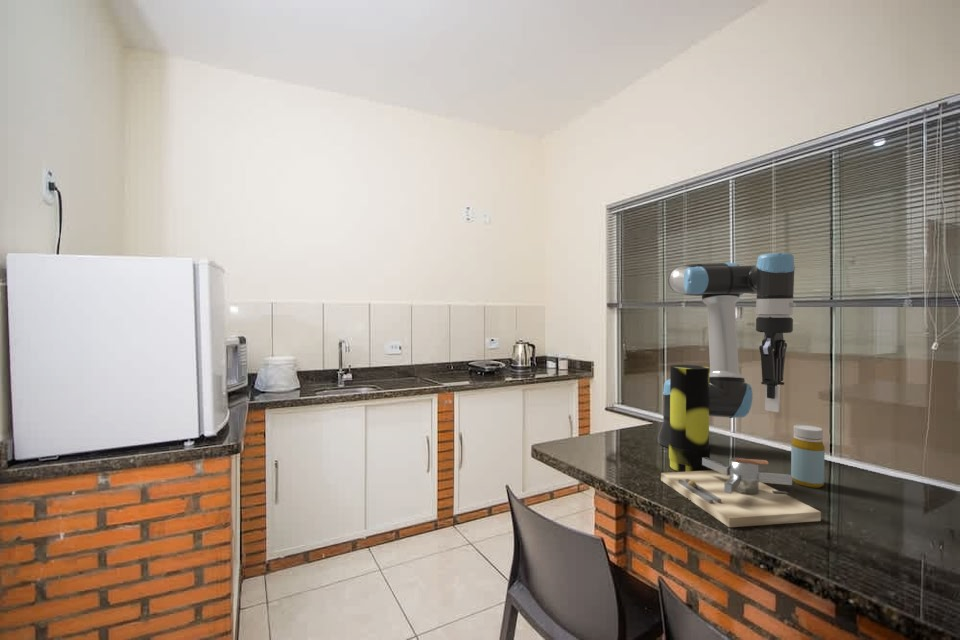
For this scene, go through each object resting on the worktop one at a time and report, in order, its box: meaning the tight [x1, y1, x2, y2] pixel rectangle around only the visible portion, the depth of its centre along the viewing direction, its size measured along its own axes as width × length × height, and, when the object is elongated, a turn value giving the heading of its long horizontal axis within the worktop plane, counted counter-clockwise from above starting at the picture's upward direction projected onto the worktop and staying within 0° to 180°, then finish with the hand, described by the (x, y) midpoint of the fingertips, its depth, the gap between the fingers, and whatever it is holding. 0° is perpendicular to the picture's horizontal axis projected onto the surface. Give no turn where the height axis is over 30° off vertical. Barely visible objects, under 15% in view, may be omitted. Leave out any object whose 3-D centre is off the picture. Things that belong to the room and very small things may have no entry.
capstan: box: [702, 457, 793, 495], centre depth 104 cm, size 17×20×7 cm
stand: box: [660, 469, 822, 528], centre depth 104 cm, size 26×23×4 cm
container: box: [668, 364, 711, 472], centre depth 124 cm, size 11×11×30 cm
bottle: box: [790, 424, 826, 489], centre depth 113 cm, size 7×7×15 cm
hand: (772, 410), depth 105 cm, fingers closed
